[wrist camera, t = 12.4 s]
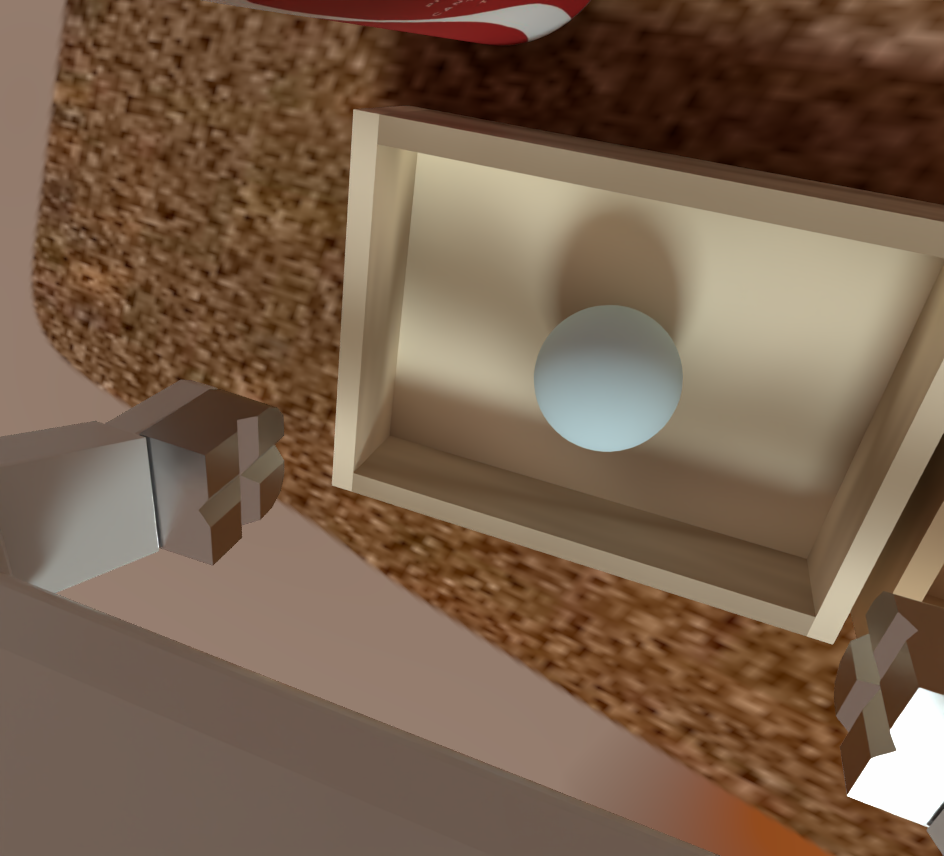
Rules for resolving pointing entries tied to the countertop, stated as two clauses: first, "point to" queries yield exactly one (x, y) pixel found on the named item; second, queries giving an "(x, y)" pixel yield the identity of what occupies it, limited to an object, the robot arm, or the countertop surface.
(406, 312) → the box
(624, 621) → the countertop surface
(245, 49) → the countertop surface
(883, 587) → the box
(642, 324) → the ball
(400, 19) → the soda can
